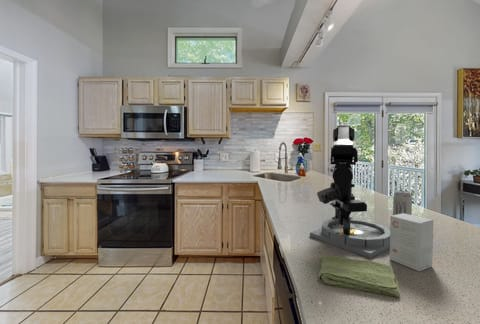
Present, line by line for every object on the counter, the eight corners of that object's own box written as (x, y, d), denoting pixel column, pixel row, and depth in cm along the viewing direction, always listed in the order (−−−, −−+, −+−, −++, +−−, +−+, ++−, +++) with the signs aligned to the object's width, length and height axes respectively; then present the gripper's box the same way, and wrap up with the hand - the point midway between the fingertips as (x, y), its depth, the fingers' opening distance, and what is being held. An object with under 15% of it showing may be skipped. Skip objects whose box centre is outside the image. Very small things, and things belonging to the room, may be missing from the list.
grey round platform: (343, 224, 102) (344, 214, 102) (402, 240, 84) (403, 228, 84) (309, 236, 90) (309, 224, 89) (370, 258, 72) (370, 244, 71)
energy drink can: (390, 230, 95) (392, 192, 94) (394, 226, 100) (395, 189, 99) (409, 233, 91) (410, 194, 90) (412, 229, 96) (413, 191, 95)
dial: (341, 223, 99) (342, 205, 98) (388, 234, 87) (388, 213, 86) (321, 234, 87) (322, 213, 87) (372, 247, 75) (372, 224, 75)
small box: (432, 266, 66) (434, 219, 66) (419, 272, 64) (420, 223, 63) (401, 255, 74) (403, 212, 73) (388, 259, 71) (389, 215, 70)
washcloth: (403, 302, 52) (403, 287, 52) (317, 285, 59) (317, 272, 59) (391, 272, 64) (391, 260, 64) (320, 261, 71) (320, 251, 71)
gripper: (309, 177, 92) (308, 218, 93) (334, 186, 73) (333, 236, 74) (336, 176, 93) (336, 216, 94) (368, 184, 75) (367, 234, 76)
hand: (342, 224), depth 85 cm, fingers closed
